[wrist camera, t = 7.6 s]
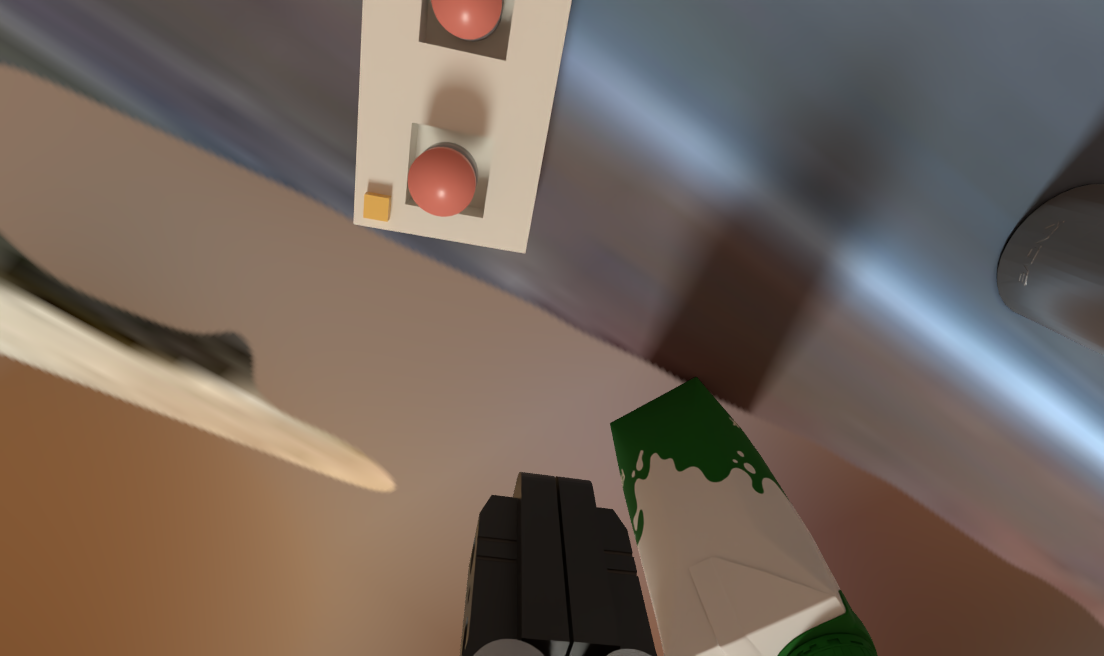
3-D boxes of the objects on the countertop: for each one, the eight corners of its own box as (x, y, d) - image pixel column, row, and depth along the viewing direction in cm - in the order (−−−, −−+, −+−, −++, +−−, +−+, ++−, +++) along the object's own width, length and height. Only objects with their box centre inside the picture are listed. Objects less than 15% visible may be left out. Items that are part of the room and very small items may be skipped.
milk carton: (750, 443, 41) (936, 737, 23) (645, 495, 42) (742, 808, 24) (702, 359, 37) (877, 630, 19) (590, 420, 39) (656, 722, 21)
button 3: (482, 148, 26) (479, 156, 24) (474, 209, 27) (470, 222, 25) (420, 136, 26) (410, 142, 23) (414, 198, 27) (404, 210, 25)
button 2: (507, -25, 25) (506, -34, 22) (497, 47, 26) (496, 45, 24) (442, -40, 24) (434, -52, 22) (435, 33, 26) (427, 30, 23)
